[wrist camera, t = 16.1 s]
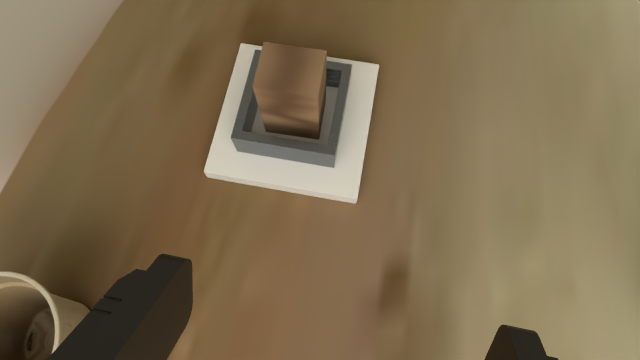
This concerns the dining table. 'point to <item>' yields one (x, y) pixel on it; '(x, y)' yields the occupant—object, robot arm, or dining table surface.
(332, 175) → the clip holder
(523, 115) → the dining table surface
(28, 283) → the flower pot
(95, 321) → the robot arm
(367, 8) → the dining table surface
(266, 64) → the walnut block
